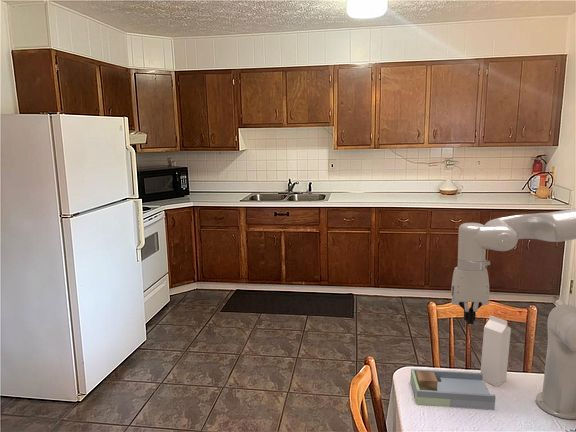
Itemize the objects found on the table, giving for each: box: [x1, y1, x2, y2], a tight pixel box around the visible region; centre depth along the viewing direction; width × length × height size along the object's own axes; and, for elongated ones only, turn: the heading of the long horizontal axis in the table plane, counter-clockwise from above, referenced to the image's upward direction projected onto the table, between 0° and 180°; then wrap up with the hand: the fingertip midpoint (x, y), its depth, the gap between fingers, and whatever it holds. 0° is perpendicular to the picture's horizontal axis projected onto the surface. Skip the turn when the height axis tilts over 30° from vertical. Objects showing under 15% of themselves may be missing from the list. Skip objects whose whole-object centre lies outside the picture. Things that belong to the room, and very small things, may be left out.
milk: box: [479, 315, 512, 388], centre depth 144 cm, size 6×6×22 cm
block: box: [416, 371, 438, 391], centre depth 138 cm, size 6×6×4 cm
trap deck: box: [410, 368, 496, 411], centre depth 138 cm, size 22×13×4 cm, turn 83°
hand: (469, 322), depth 133 cm, fingers closed
